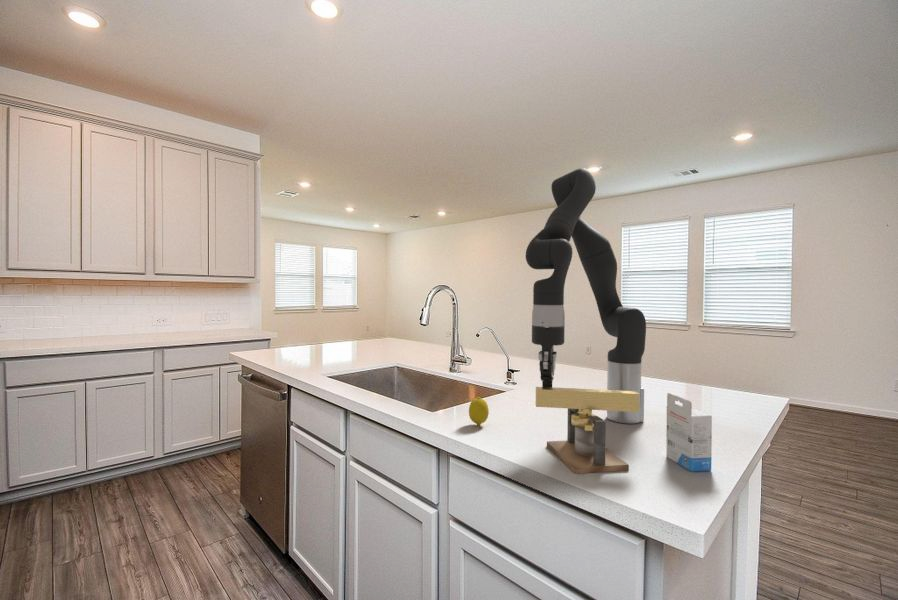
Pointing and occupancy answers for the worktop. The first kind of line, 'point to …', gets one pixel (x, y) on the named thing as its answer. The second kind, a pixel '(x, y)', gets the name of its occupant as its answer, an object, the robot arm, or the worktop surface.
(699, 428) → the ink box
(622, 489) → the worktop surface
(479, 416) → the lemon
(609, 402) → the yellow long bar
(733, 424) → the worktop surface
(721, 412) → the worktop surface
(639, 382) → the robot arm
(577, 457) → the base
